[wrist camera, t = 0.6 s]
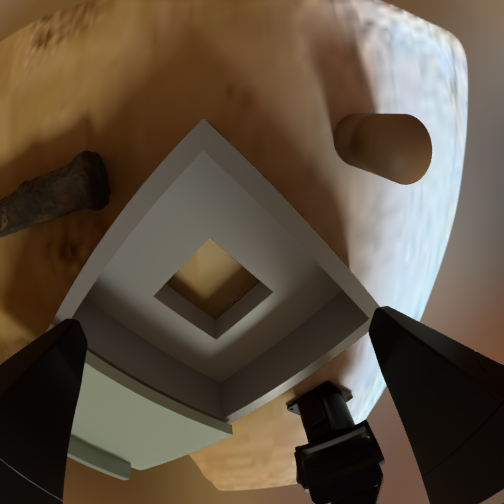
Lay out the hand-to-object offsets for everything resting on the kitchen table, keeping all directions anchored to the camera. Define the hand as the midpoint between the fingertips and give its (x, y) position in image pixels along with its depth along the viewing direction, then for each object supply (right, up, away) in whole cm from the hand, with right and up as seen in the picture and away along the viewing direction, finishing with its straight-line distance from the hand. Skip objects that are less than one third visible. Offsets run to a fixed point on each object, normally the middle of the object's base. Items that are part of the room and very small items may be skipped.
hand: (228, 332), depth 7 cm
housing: (-2, 0, +14) cm, 14 cm away
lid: (-12, -13, +11) cm, 21 cm away
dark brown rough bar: (-18, +6, +10) cm, 22 cm away
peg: (+8, +10, +11) cm, 17 cm away
